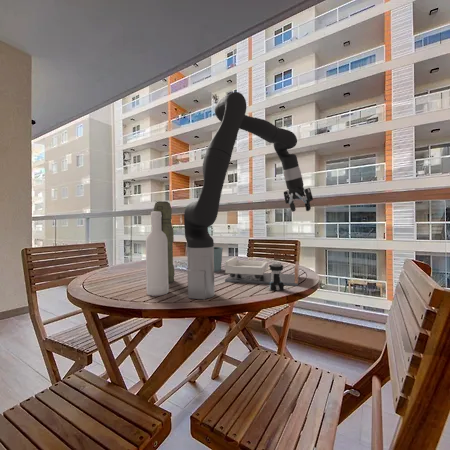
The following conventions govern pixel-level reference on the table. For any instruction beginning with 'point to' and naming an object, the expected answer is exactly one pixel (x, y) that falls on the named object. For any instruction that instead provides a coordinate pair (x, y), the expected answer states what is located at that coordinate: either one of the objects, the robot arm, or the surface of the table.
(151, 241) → the bottle
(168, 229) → the thermos
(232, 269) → the cart
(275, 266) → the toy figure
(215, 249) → the drinking glass
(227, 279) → the grey piece
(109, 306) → the table surface
